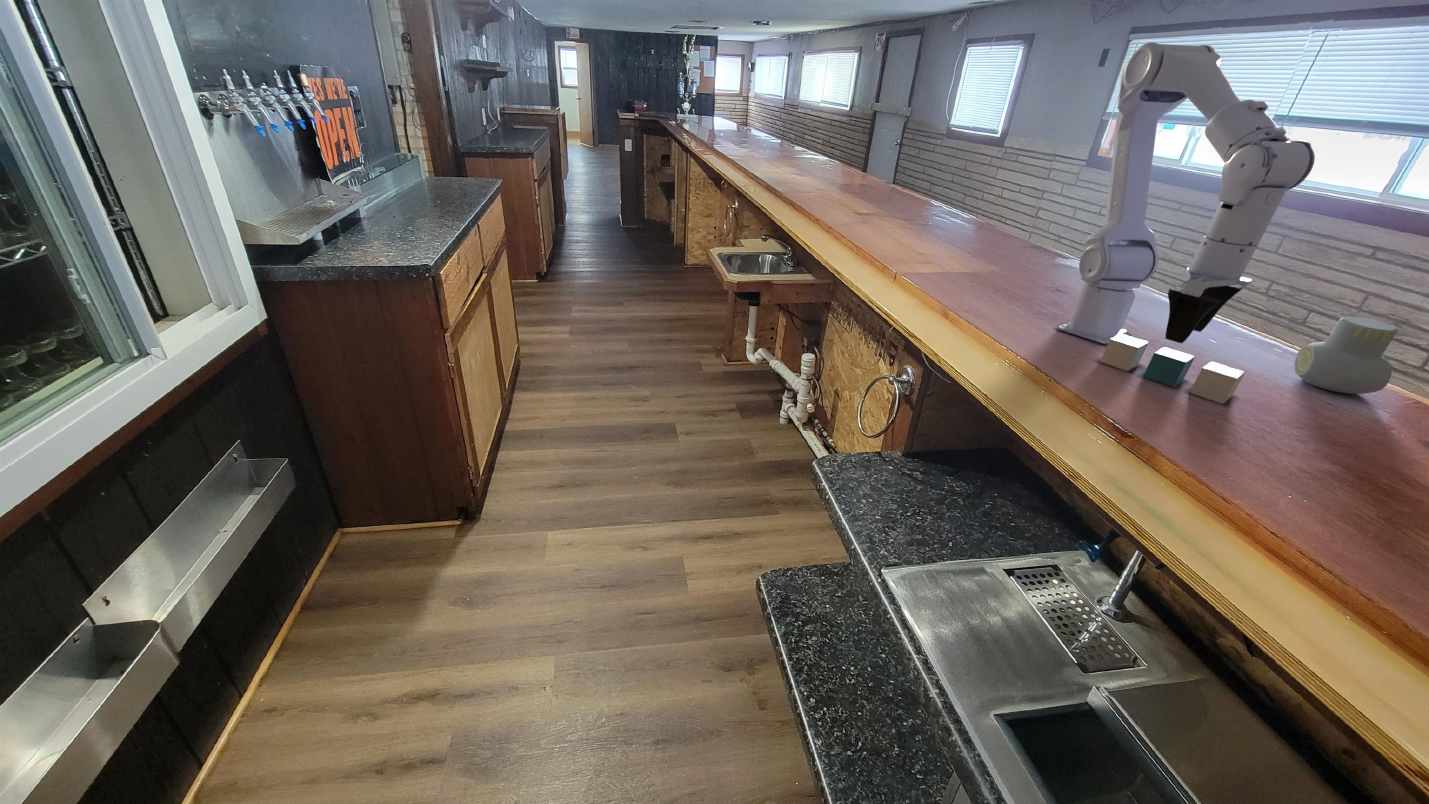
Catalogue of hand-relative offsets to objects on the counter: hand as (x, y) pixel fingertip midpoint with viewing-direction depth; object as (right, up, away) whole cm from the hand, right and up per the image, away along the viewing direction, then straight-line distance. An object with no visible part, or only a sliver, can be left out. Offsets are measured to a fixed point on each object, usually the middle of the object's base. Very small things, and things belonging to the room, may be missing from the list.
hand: (1183, 334), depth 81 cm
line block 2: (+3, -9, -1) cm, 9 cm away
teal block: (0, -6, +3) cm, 7 cm away
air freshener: (+25, -7, +4) cm, 26 cm away
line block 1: (-4, -4, +7) cm, 9 cm away
